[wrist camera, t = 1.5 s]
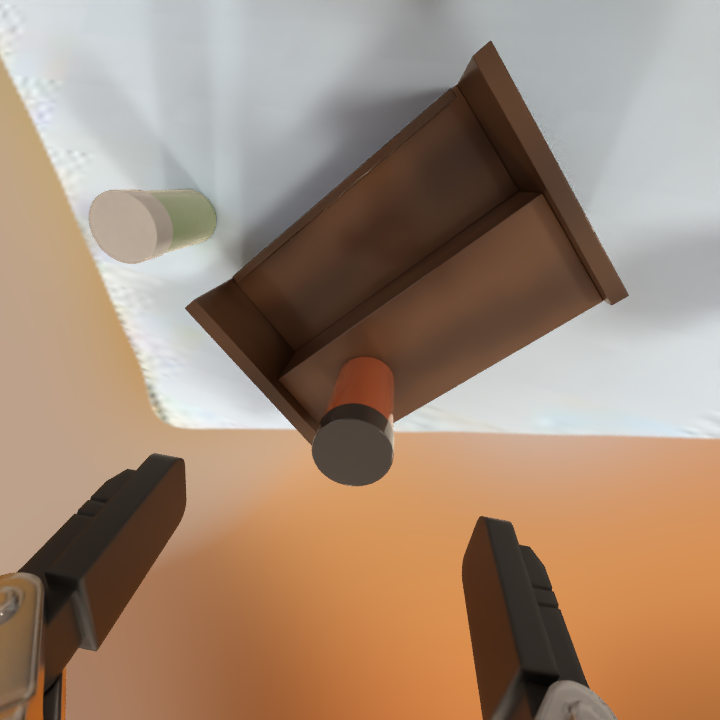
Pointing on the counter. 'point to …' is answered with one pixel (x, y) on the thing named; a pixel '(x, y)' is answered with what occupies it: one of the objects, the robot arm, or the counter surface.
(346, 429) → the pepper shaker
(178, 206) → the cylinder
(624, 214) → the counter surface
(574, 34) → the counter surface
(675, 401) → the counter surface
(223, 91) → the counter surface
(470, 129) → the spice rack
